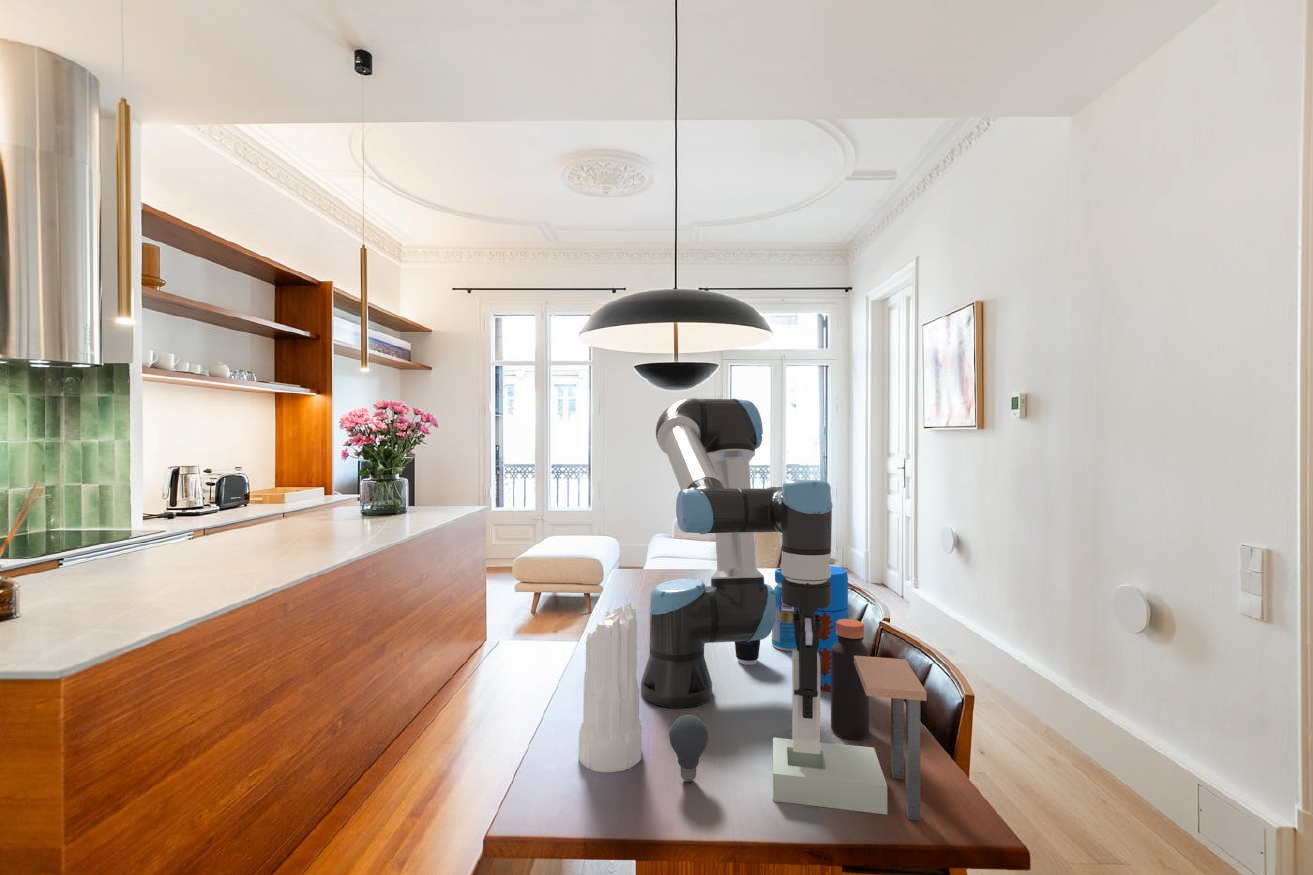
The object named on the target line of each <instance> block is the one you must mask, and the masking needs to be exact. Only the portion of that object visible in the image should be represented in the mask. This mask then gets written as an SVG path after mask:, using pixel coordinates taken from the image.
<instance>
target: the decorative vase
mask: <svg viewBox="0 0 1313 875" xmlns="http://www.w3.org/2000/svg"><path fill="white" fill-rule="evenodd" d="M636 610H637V609H636V608H632V603H628V604H626V605H624V607H623V606H622V605H621V606H619V607H616V608H614V610H613V612H611V611H606V614H605V617H604V618H605V619H603V620H602V621H600V622H597V623H596V624H597V625H596V628H595V630H594V631H593V632H592V633H591V632H588V633H587V636H586V641H585V671H584V677H583V702H582V703H583V706H582V707H583V709H582V711H583V712H582V713H583V715H582V716H583V718H582V722H581V723H580V727H579V730H578V761H579V762H580V764H581V765H583V767H585V769H587V770H591V771H593V772H598V773H617V772H622V771H623V772H624V771H627V770H629V769H631V768H632V767H634V766H636V765H637V764H638V763H639V762H640V761H641V760H642V746H643V744H642V743H643V742H642V740H643V738H642V735H643V734H642V733H643V732H642V723H641V720H640V688H639V685H638V678H637V673H638V671H637V670H638V668H637V667H638V666H637V664H638V663H637V662H638V659H637V658H638V653H637V652H638V620H637V611H636Z"/></svg>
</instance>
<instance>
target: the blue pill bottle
mask: <svg viewBox="0 0 1313 875" xmlns="http://www.w3.org/2000/svg"><path fill="white" fill-rule="evenodd" d="M784 578H785V577H784V576H783V575H782V567H780V568H776V569H775V571H774V581H775V584H776V585H775V586H774V588H773V591H774V596H775V599H776V616H775V622H774V625H773V628H772V630H771V645H772V646H773V647H774V648H775V649H777V650H781V651H786V652H792V650H793V651H797V646H796V643H795V635H794V624H793V613H796V609H798V608H797V607H791V606H788V605H786V604H785V603H784V602H783V601H782V580H783V579H784Z"/></svg>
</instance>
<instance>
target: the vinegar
mask: <svg viewBox="0 0 1313 875" xmlns="http://www.w3.org/2000/svg"><path fill="white" fill-rule="evenodd" d="M836 634H837V637H838V641H837V642H836V643H835V644H834V645H833V646H832V647H831V691H830V729H831V731H832V732H833V733H834V734H835V735H837V736H839V737H841V738H842V739H847V740H853V741H855V740H857V741H858V740H863V739H866V738H868V737H869V735H870V696H866V693H865V690H864V688H863V685H862V683H861V680H860V677H859V675H858V672H857V670H856V667H855V665H854V656H866V657H871V656H870V651H869V648H867V647H866V645H864V643H863V640H865V638H864V637H865V623H864V622H862V621H859V620H857V619H850V618H848V619H840V620H838V621H837V622H836Z"/></svg>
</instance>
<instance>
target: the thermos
mask: <svg viewBox="0 0 1313 875" xmlns="http://www.w3.org/2000/svg"><path fill="white" fill-rule="evenodd" d="M830 567H831V577H830V578H829V579H828V580H829V581H830V583H831V604H830V606H828V607H826V608H823V609H821V608H819V609H816V610H815V614H818V615H819V619H820V630H819V647H818V648H817V652H818V653H819V658H820V692H821V691H822V692H831V647H832V646H833V645H834V644H835V643H836V642H837V641H838V637H837V634H836V622H837V621H838V620H840V619H849V608H848V607H849V575H848V571H847V569H845V568H843V567H839V566H833V565H830Z"/></svg>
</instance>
